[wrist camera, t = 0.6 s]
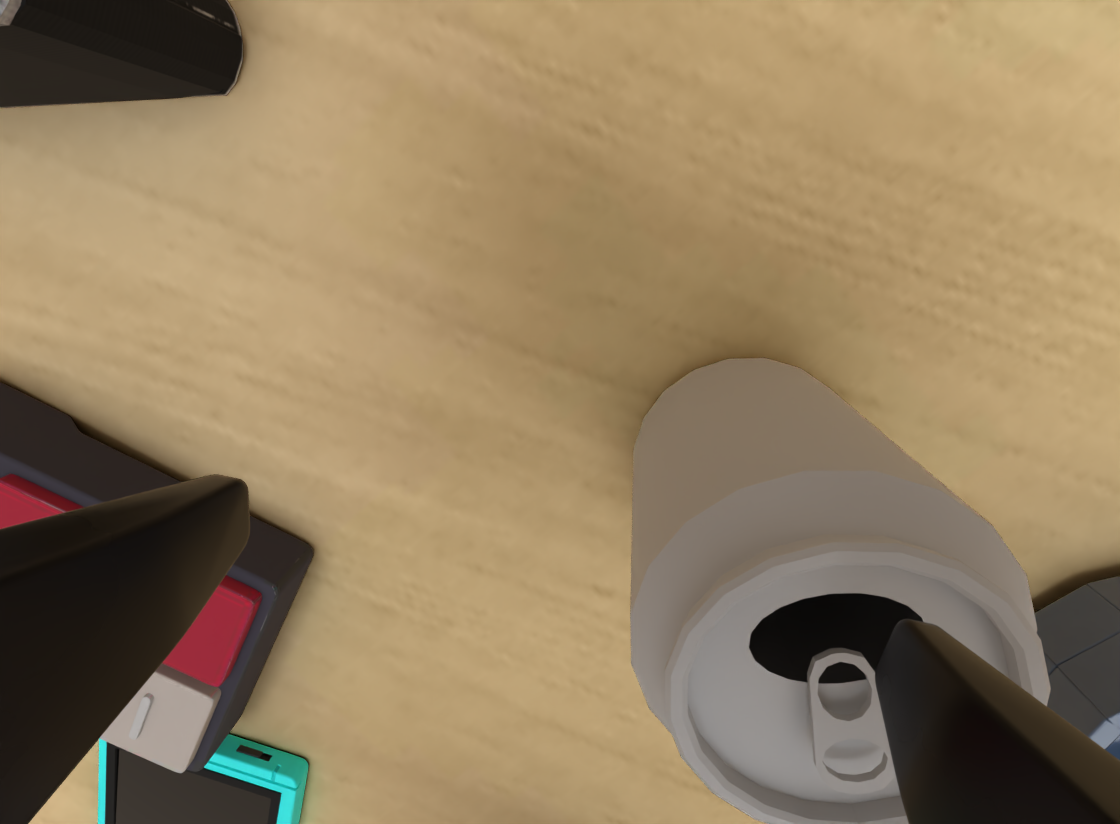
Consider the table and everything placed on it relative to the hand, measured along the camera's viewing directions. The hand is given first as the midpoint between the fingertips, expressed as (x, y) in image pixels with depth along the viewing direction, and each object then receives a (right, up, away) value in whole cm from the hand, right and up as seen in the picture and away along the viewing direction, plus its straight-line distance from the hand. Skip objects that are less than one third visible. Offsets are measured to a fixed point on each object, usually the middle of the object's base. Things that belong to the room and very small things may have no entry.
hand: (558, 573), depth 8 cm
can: (+6, +1, +13) cm, 15 cm away
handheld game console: (-19, -20, +23) cm, 36 cm away
